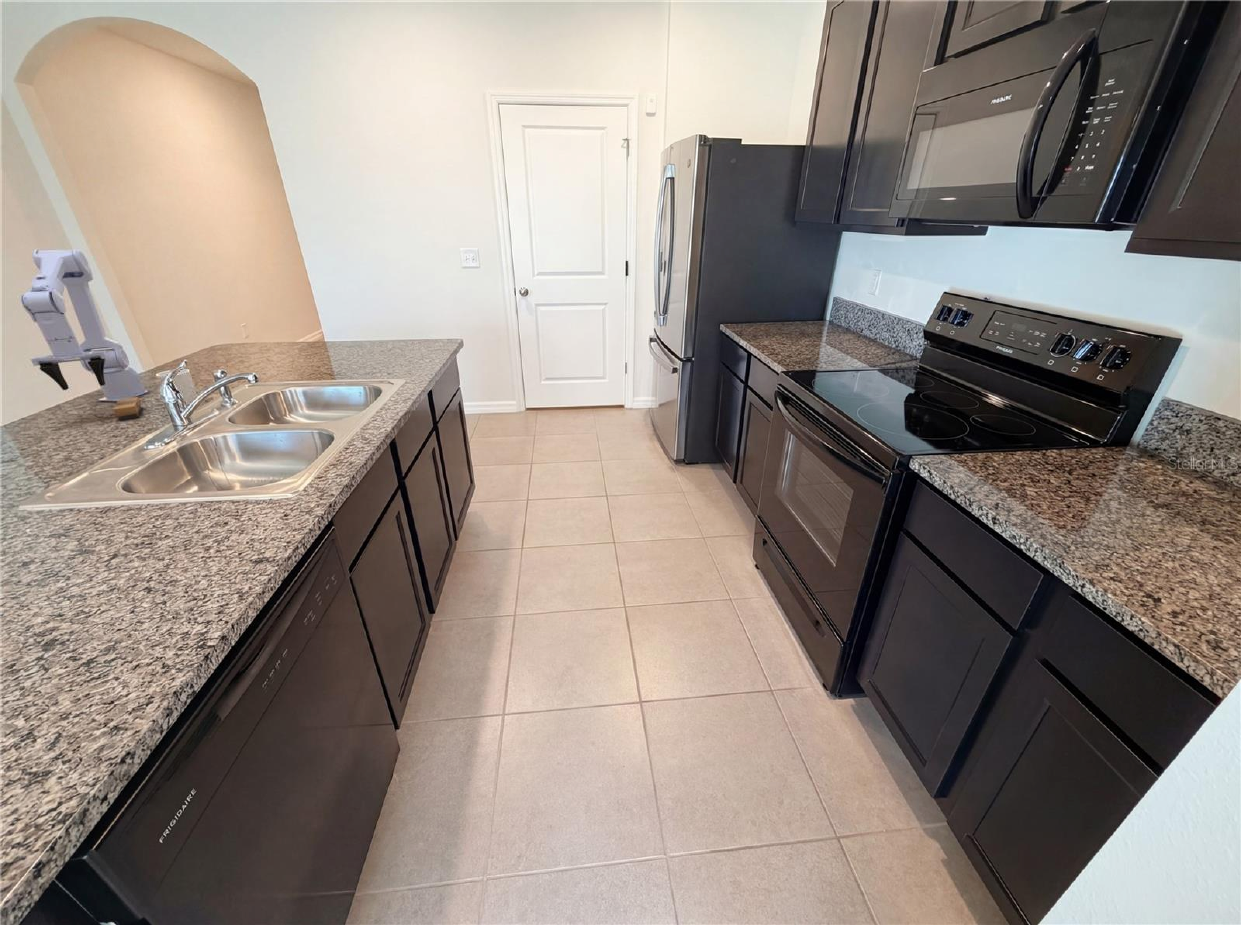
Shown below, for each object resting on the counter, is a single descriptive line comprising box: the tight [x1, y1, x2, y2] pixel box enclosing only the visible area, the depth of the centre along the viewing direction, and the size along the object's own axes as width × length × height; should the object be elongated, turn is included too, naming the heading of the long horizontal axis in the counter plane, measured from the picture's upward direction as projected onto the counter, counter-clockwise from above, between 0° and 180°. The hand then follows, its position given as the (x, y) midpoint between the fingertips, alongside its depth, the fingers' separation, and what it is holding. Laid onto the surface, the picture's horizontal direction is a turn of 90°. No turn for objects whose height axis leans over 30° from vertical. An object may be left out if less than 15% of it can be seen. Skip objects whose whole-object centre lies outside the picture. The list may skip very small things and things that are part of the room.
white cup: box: [155, 368, 198, 403], centre depth 155 cm, size 8×8×10 cm
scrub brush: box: [113, 396, 143, 422], centre depth 148 cm, size 11×4×4 cm, turn 37°
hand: (84, 387), depth 141 cm, fingers open, 7 cm apart
